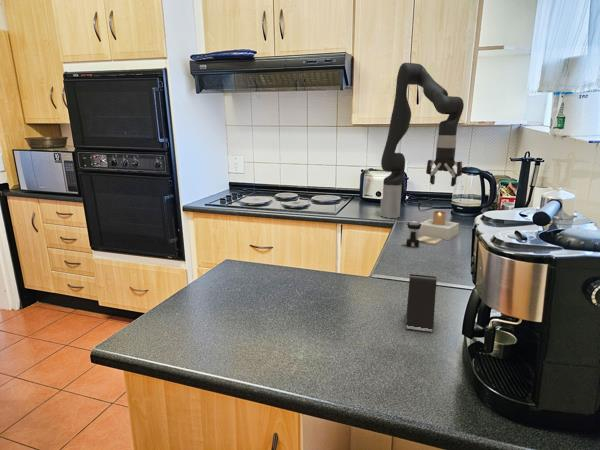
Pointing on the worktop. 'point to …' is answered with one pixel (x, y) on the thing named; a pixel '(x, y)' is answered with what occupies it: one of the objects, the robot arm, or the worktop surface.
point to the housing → (438, 229)
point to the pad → (429, 240)
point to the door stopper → (421, 301)
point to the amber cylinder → (439, 218)
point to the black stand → (413, 234)
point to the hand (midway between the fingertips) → (442, 185)
